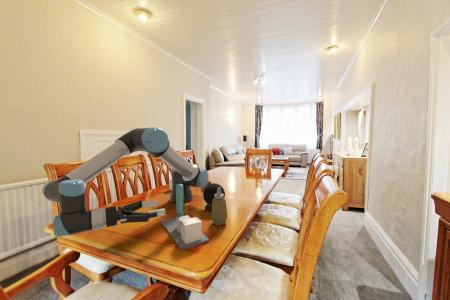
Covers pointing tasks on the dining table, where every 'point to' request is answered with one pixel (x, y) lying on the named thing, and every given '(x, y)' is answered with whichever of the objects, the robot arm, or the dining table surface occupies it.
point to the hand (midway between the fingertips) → (160, 207)
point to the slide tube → (179, 200)
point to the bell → (206, 185)
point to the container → (170, 184)
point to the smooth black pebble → (211, 194)
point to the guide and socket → (185, 231)
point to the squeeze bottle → (219, 208)
